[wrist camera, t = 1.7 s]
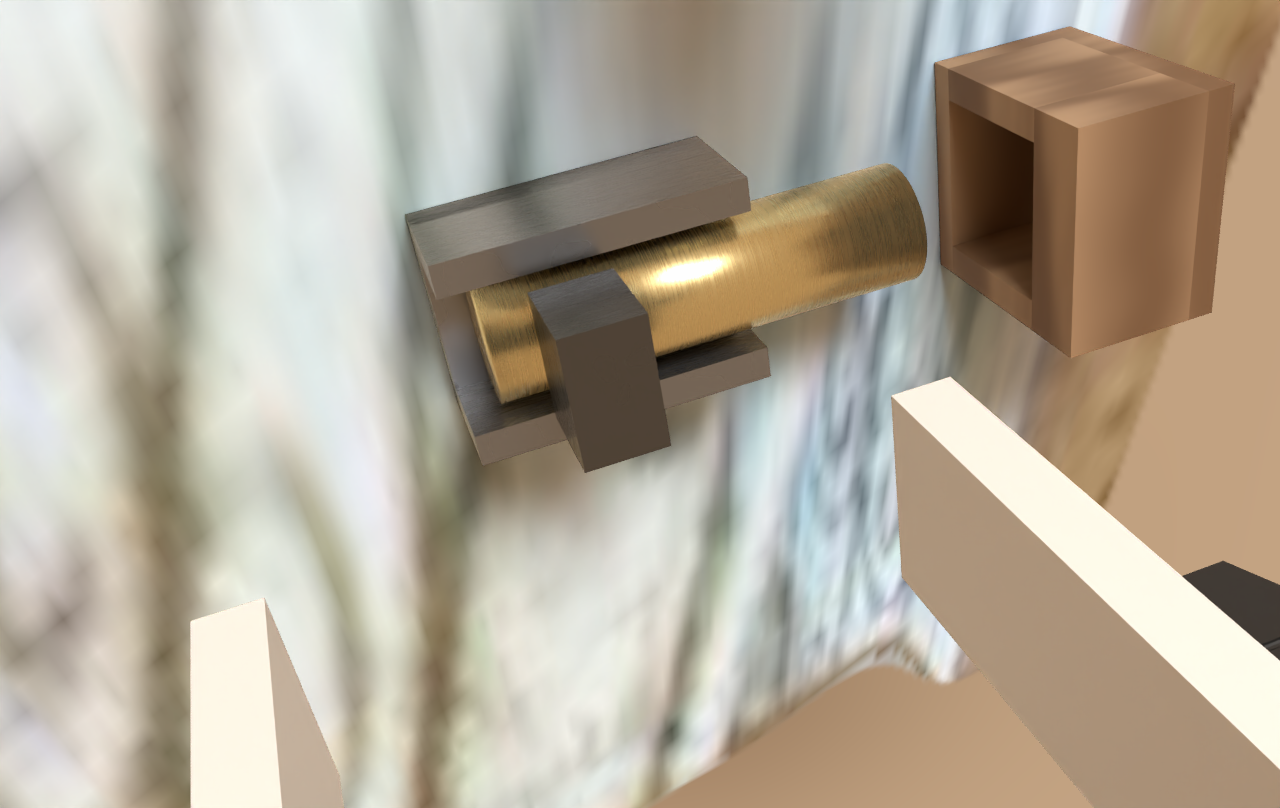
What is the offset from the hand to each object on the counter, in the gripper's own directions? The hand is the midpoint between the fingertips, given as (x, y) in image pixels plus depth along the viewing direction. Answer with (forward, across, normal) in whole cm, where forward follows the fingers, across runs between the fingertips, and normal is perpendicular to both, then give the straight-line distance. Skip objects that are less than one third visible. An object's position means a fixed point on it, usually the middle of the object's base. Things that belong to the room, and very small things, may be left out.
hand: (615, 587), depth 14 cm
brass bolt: (+22, +7, -7) cm, 24 cm away
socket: (+23, +19, -7) cm, 31 cm away
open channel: (+23, +4, -7) cm, 25 cm away
